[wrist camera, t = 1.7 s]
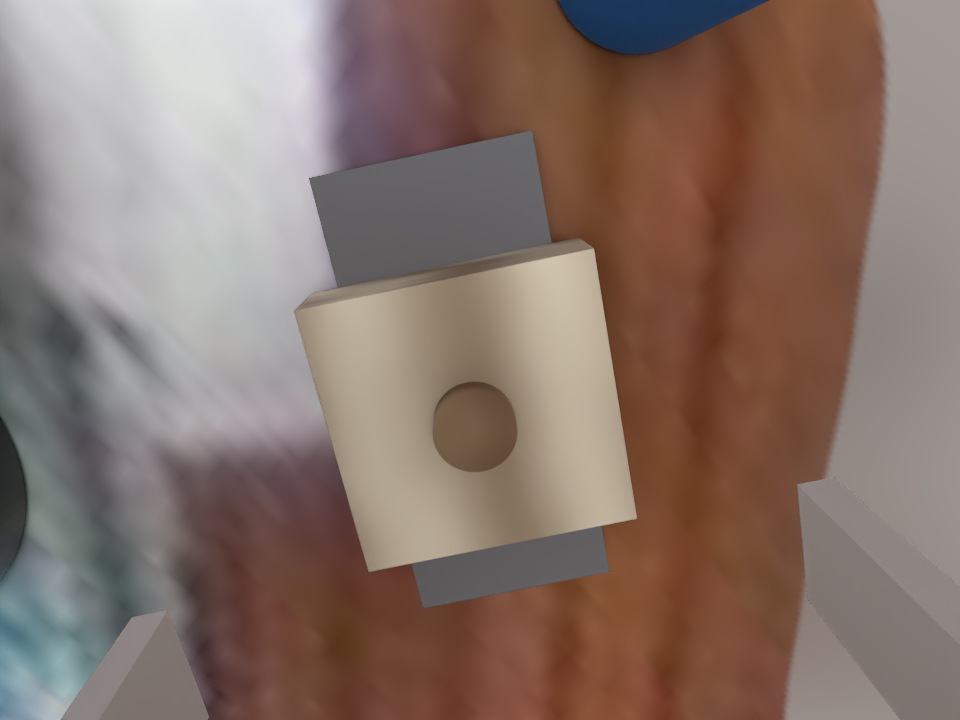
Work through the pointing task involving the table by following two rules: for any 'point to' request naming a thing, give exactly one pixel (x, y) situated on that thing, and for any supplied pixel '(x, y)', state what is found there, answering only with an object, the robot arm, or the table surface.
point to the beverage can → (649, 21)
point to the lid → (471, 403)
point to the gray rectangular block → (438, 242)
